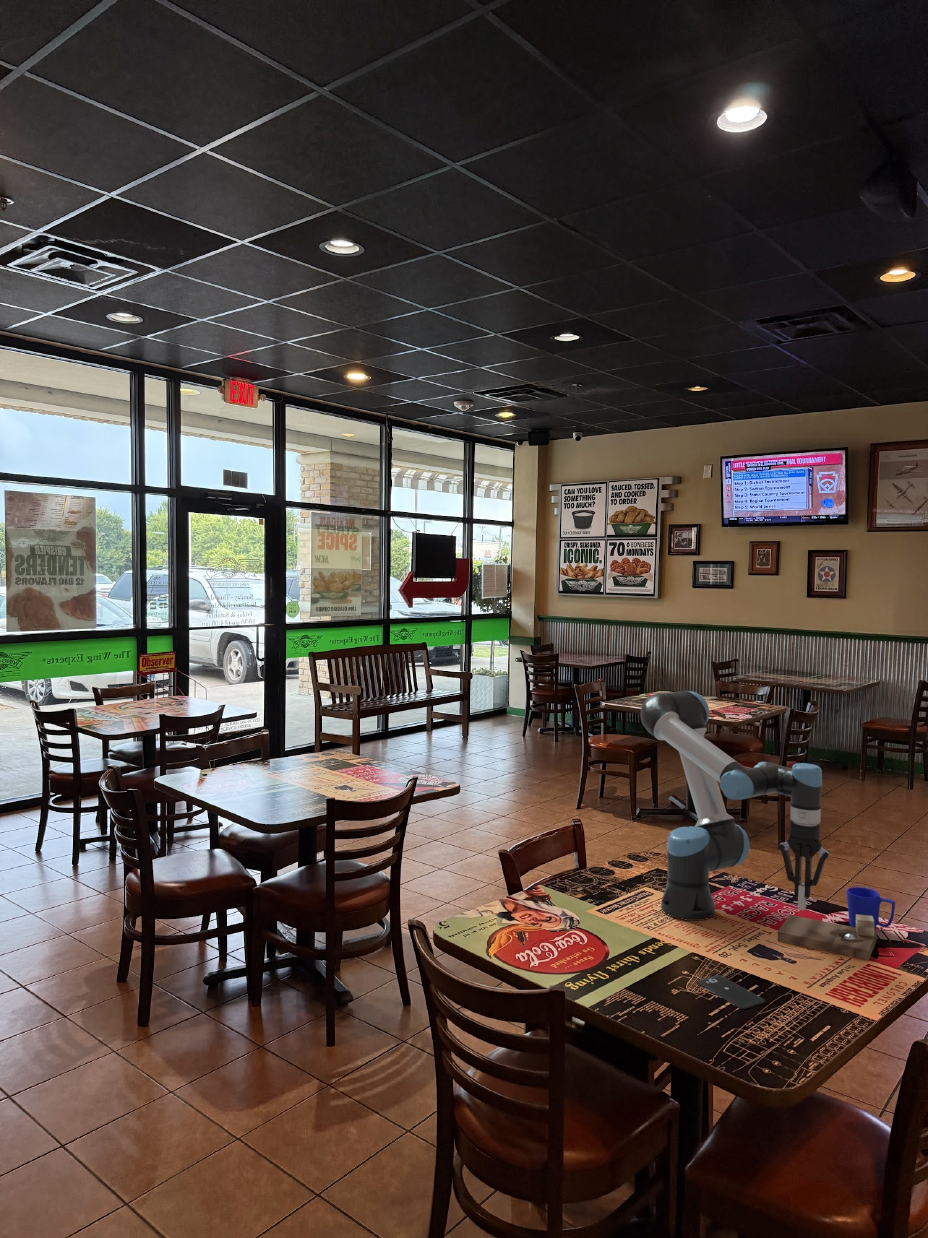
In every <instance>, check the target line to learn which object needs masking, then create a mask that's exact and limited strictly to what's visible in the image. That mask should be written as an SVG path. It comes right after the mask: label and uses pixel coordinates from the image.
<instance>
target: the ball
mask: <svg viewBox="0 0 928 1238" xmlns="http://www.w3.org/2000/svg"><path fill="white" fill-rule="evenodd" d="M844 939H856V937H855V936H854V935H853V934H851V933H848V934H845V935H844Z"/></svg>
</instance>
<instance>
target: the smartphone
mask: <svg viewBox="0 0 928 1238" xmlns="http://www.w3.org/2000/svg"><path fill="white" fill-rule="evenodd" d="M696 984H697V985H699V986H700V987H702V988H704V989H706V990H707V991H709V992H710V993H712V994H714V995H716V996H718V997H719V998H721V999H723V1000H725V1001H726V1002H728V1003H730V1004H732V1005H733V1006H735V1007H737V1008H739V1009H740V1010H747V1009H750V1008H753V1007H757V1006H759V1005H763V1004H765V1003H766V999H765V998H762V996H759V995H757V994H756V993H754V992H752V991H751V990H748V989H747V988H744V987H742V986H741V985H740V984H737V983H736V982H734V981H732V980H730V979H728V978H726V977H725V976H722V975H721V974H716V975H713V976H709V977H705V978H702V979H701V978H700V979H699V980H697V981H696Z"/></svg>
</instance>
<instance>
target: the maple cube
mask: <svg viewBox="0 0 928 1238" xmlns="http://www.w3.org/2000/svg"><path fill="white" fill-rule="evenodd" d="M874 931H875V930H874V919H873V917H872V916H868V915H858V914H856V932H857V935H864V936H873V937H874Z"/></svg>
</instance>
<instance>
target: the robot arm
mask: <svg viewBox="0 0 928 1238" xmlns="http://www.w3.org/2000/svg"><path fill="white" fill-rule="evenodd" d="M710 715H711V714H710V707H709V704H708V703H707V701H706V699H705V698H704V697H703V696H702V695H701V694H699V693H697V692H696V691H692V690H691V691H689V690H681V691H671V692H660V693H655V694H652V695H651V696H649V697H647V698H646V699H645V701H644V702H643V703H642V705H641V708H640V720H641V723H642V726H643V727H644V728H645V729H646V731H647V732H648V733H649V734H651V735H652V736H653V737H654V738H655V739H657V740H659V741H665V742H666V743H668V744H669V745H670V746H671V747H673V748H674V749H675V750H677V751H678V753H679V754H678V755H679V756H680V757H679V758H680V760H681V764H682V768H683V771H684V774H685V778H686V781H687V784H688V789H689V792H690V795H691V798H692V802H693V806H694V808H695V812H696V815H697V819H698V820H697V821H696V823H695V825H694V826H691V825H690V826H681V827H678V828H675V829H673V830H671V832H669V834H668V836H667V843H666V850H667V851H666V852H667V853H666V854H667V855H666V856H667V860H666V861H667V863H666V866H667V868H666V869H667V873H666V874H667V883H666V886H665V889H664V892H663V895H662V898H661V903H660V906H661V907H660V908H662V909H661V911H662V910H663V911H664V912H665V913H666V914H665V913H664V912H663V911H662V912H663V913H664V914H665V915H667V914H669V915H671V916H673V917H672V918H675V917H676V918H675V919H678V918H683V919H682V920H684V919H687V920H686V921H704V920H707V919H706V918H708V919H710V917H711V918H712V917H714V916H715V915H716V904H715V901H714V898H713V895H712V891H711V888H710V885H709V884H710V879H709V878H710V872H714V871H718V870H722V869H726V868H734V867H735V866H737V865H740V864H741V863H743V862H744V861H745V860H746V859H747V856H748V855H749V851H750V840H749V837H748V833H747V832H746V830H745V829H743V828H742V826H740V825H738V824H736V821H735V818H734V817H733V816H732V815H730V814H729V813H727V810H726V806H725V803H724V800H723V796H722V793H723V795H724V796H725V797H726V798H727V799H729V800H733V801H735V800H746V799H749V798H750V799H751V798H755V797H758V796H765V795H770V794H779V795H784V796H788V797H790V815H789V816H790V817H789V819H790V820H791V821H790V822H789V837H788V839H787V841H785V842H781V843H779V845H778V849H779V851H780V852H781V854H782V858H783V859H782V860H783V863H784V864H783V865H784V869H785V872H786V873H785V874H786V877H787V880H788V881H789V882H792V883H793V884H794V892H793V893H794V896H796V897H797V910H800V911H805V909H806V907H807V899H809V898H810V896H811V891H812V890H811V889H812V888H811V887H812V886H813V887H816V886H817V885H818V883H819V880H820V878H821V875H822V873H823V869H824V866H825V862H826V859H828V858H829V856H830V854H831V852H830V850H826V849H825V848H823V846H822V845H823V844H822V843H821V840H820V839H821V825H820V823H821V820H822V819H821V815H822V813H821V812H822V802H821V801H822V791H823V783H824V782H823V770H822V768H821V767H820V766H819V765H816V764H812V763H804V762H801V763H800V762H797V763H795V764H793V765H792V766H791V767H792V768H790V767H787V766H783V765H780V764H777V763H773V762H768V761H767V762H766V761H760V762H758V763H757V764H756V765H754V766H753V767H751V768H747V767H745V766H744V765H743V764H741V763H739V762H738V761H737V760H735V759H734V758H732V757H731V756H730V755H728V754H727V753H726V752H724V751H723V750H721V749H720V748H719V747H718V746H716V745H715V744H713V743H712V742H711V741H709V739H706V738H705V734H706V732H707V730H708V729H707V725H706V724H707V723H708V722H709V719H710V718H709V717H710ZM721 791H722V793H721ZM790 849H791V851H792V852H793V854H794V859H795V860H794V861H795V862H794V868H793V864H792V860H791V855H790V851H789V850H790ZM817 853H819V854H818V856H819V860H818V863H817V865H816V869H815V871H814V874H813V879H812V870H813V866H812V865H813V857H814V856H815V855H816V854H817ZM803 858H805V859H804V862H805V864H804V865H805V866H804V882H802V881H803V880H802V868H803V867H802V863H803ZM714 914H715V915H714ZM669 915H668V916H669ZM671 916H670V917H671ZM703 919H704V920H703Z"/></svg>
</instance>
